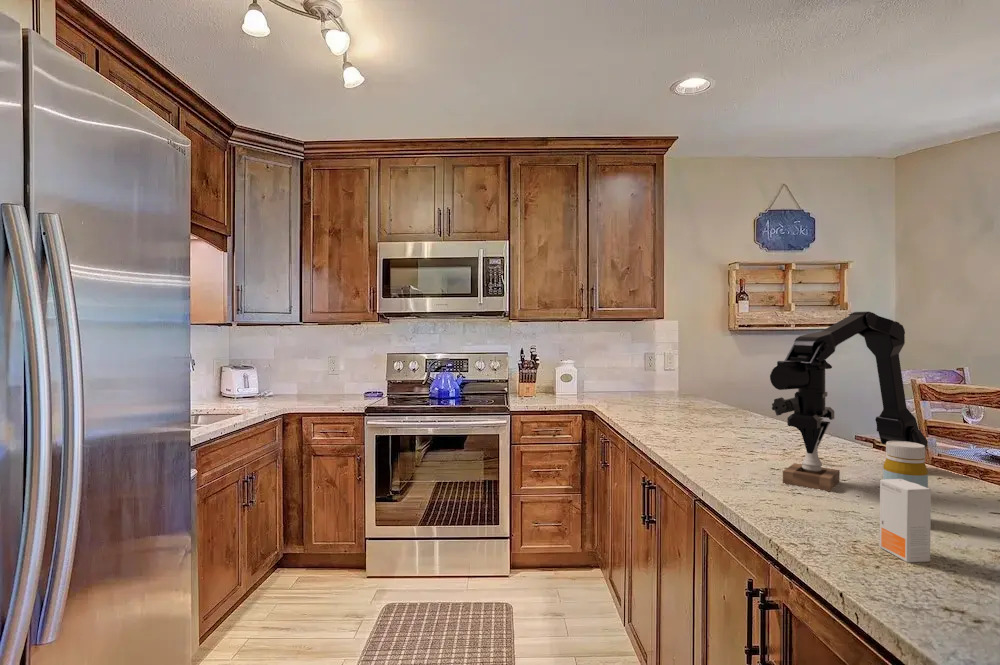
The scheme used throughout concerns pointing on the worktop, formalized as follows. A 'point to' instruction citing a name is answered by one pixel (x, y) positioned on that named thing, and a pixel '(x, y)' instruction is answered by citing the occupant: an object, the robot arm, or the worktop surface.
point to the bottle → (905, 462)
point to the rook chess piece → (812, 461)
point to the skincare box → (905, 519)
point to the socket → (811, 477)
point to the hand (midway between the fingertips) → (811, 452)
